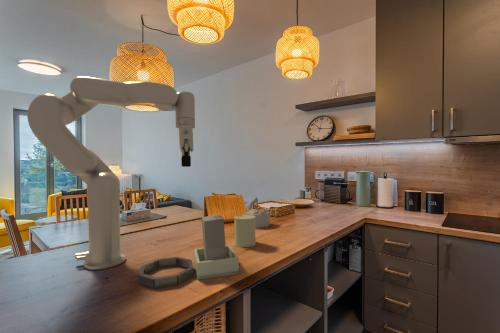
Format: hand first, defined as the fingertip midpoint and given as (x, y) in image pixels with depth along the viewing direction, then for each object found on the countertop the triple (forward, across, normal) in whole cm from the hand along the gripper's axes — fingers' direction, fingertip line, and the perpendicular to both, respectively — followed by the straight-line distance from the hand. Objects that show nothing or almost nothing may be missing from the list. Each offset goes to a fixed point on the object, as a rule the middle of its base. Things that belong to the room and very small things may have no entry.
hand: (185, 166), depth 99 cm
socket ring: (+33, -22, +7) cm, 40 cm away
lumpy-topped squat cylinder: (+34, +27, -40) cm, 59 cm away
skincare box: (+32, -22, -8) cm, 40 cm away
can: (+34, -1, -24) cm, 41 cm away
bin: (+33, -22, -8) cm, 41 cm away
